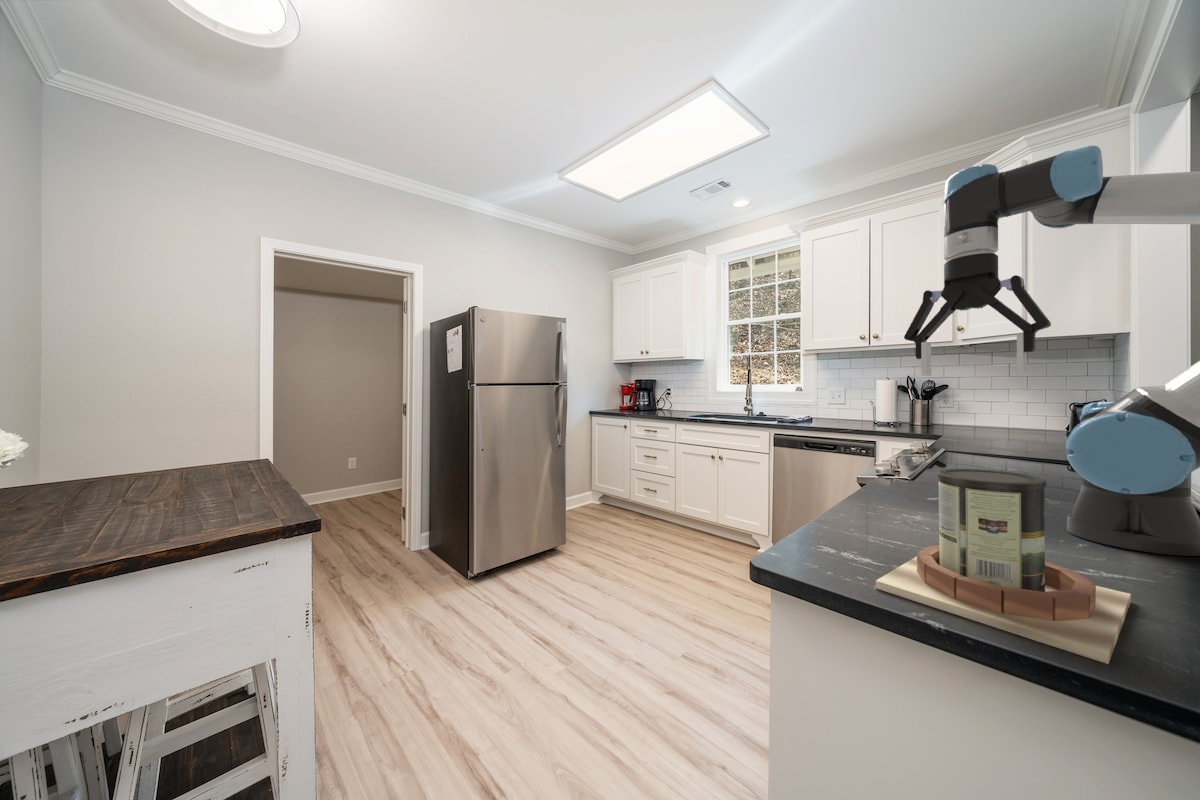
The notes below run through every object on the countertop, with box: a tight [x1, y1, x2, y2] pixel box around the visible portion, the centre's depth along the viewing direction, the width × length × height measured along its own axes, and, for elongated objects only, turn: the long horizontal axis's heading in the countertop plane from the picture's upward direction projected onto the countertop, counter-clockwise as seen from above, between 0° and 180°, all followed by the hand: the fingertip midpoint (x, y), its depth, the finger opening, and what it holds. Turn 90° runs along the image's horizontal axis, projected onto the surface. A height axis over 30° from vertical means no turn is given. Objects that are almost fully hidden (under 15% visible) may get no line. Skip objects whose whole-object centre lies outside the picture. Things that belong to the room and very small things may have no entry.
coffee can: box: [936, 468, 1047, 592], centre depth 55 cm, size 10×10×14 cm
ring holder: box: [875, 544, 1132, 665], centre depth 55 cm, size 20×20×4 cm
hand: (970, 374), depth 79 cm, fingers open, 13 cm apart
